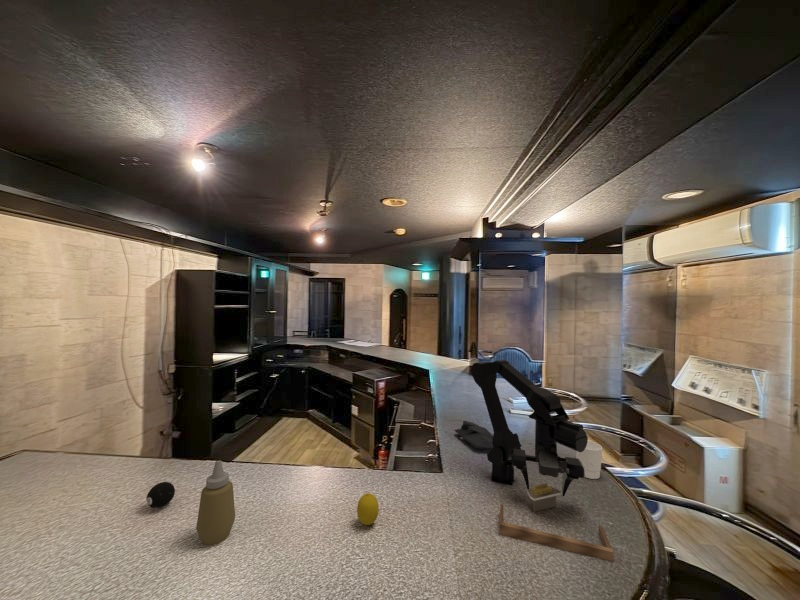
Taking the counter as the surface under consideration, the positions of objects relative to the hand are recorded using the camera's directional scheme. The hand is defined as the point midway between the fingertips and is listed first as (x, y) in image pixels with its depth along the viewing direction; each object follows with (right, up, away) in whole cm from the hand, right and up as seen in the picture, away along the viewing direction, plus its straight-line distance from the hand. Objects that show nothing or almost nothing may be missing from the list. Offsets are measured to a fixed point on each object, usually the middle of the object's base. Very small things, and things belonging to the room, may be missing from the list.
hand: (545, 491), depth 89 cm
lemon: (-50, -2, -10) cm, 51 cm away
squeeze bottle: (-86, -2, -15) cm, 88 cm away
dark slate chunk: (-8, -5, +43) cm, 44 cm away
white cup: (+23, -5, +17) cm, 29 cm away
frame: (-5, -3, -12) cm, 14 cm away
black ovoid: (-108, -1, -4) cm, 108 cm away
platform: (-2, -4, -2) cm, 5 cm away
